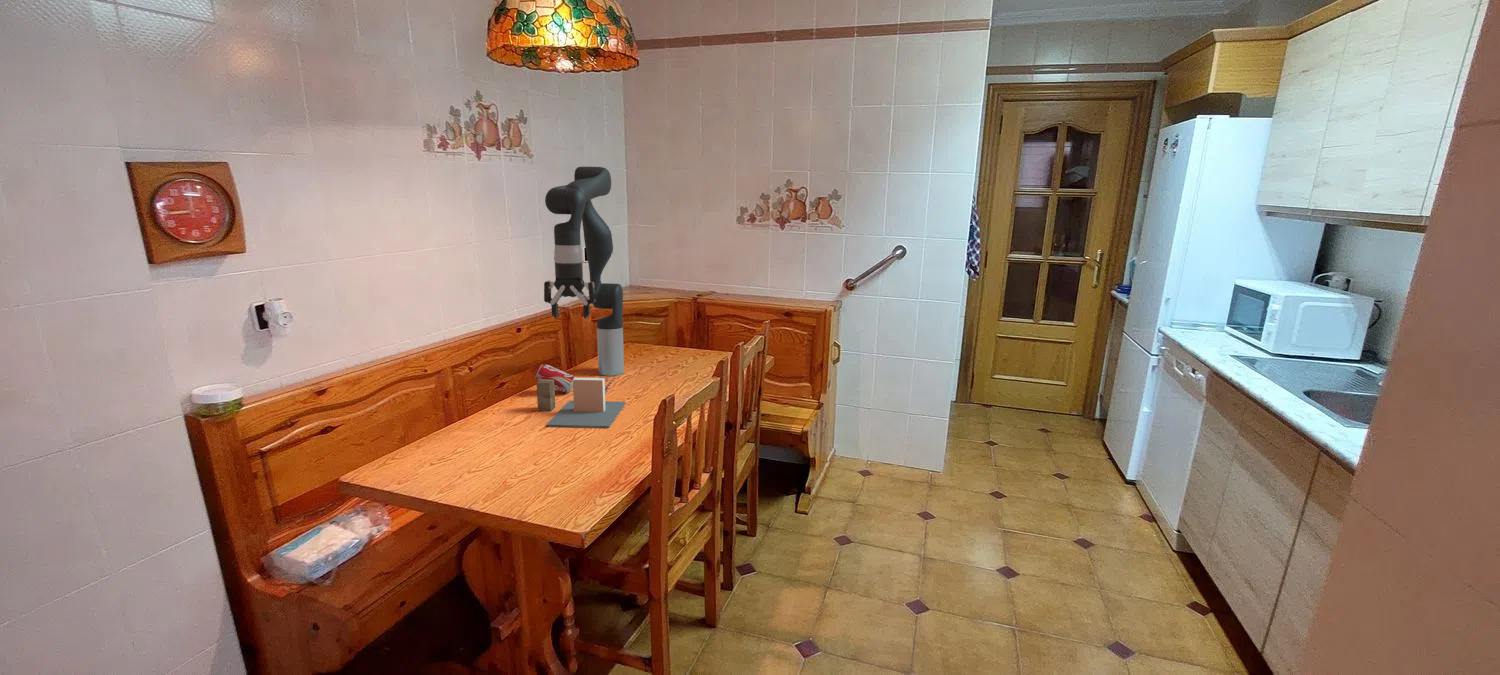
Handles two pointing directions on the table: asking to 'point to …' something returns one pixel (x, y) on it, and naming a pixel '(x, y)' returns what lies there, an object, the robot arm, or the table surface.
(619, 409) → the mat
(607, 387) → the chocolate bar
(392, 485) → the table surface
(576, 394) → the tile
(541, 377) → the beverage can
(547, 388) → the block
